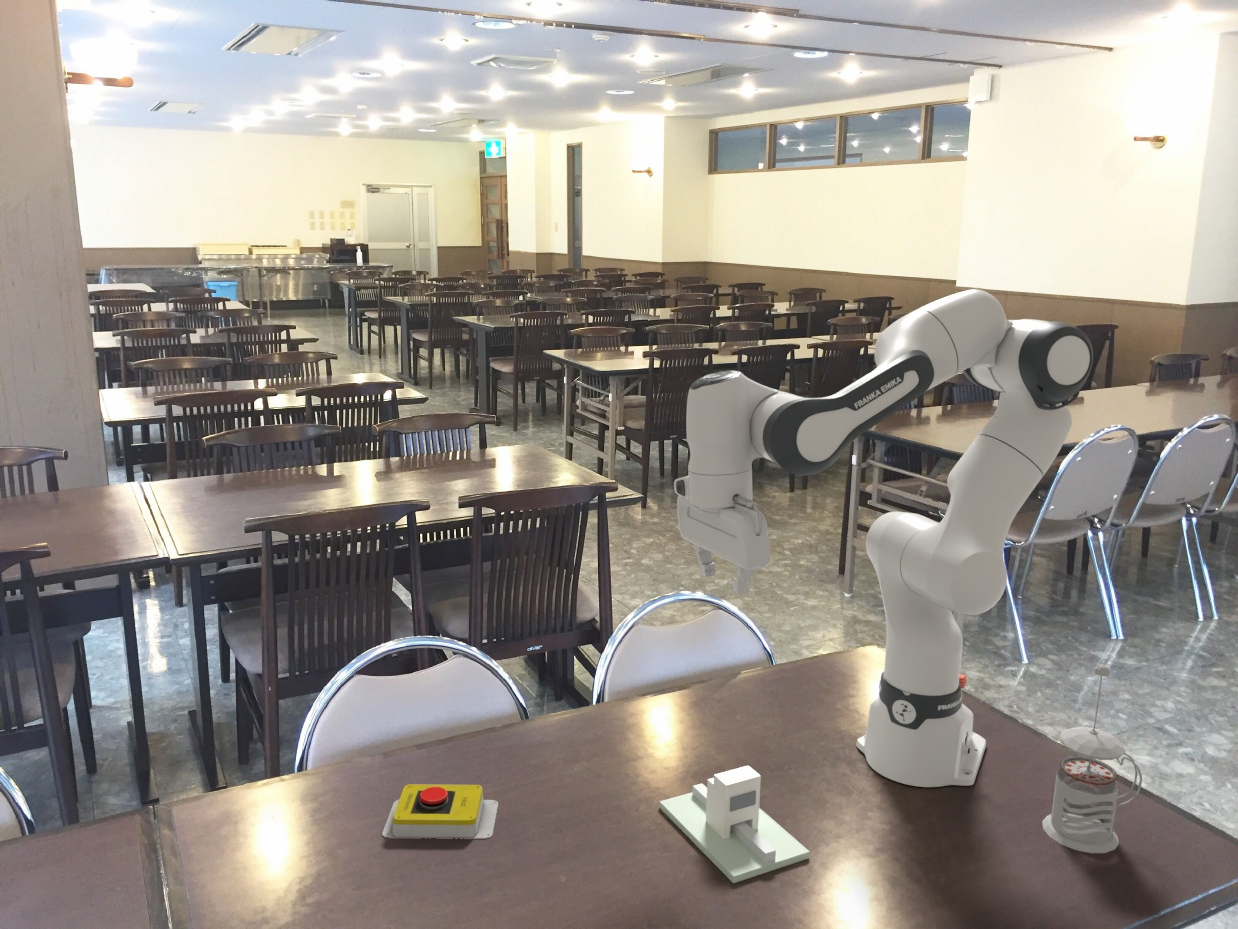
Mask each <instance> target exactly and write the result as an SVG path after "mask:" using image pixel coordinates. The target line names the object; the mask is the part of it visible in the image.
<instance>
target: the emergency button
mask: <svg viewBox="0 0 1238 929" xmlns="http://www.w3.org/2000/svg"><path fill="white" fill-rule="evenodd" d="M483 790H484V789H483V786H482V785H480V784H437V783H436V784H435V783H434V784H431V783H429V784H428V783H426V784H425V783H423V784H421V783H420V784H419V783H412V784H411V783H410V784H406V785H405V786H404V787H403V789H402V791H401V795H400V797H399V799H397V800H395V801H394V802H393V804H392V806H391V809H390V811H389V814H388V817H387V818H386V819H387V820H386V822H385V824H384V828H383V831H382V832H381V834H382V837H383V836H384V837H383V838H385V837H386V839H421V838H425V840H426V839H427V838H430V840H431V838H436V839H437V840H438V839H442V840H443V839H446V840H447V839H448V840H452V839H453V838H455V839H453V840H458V838H460V839H459V840H487V839H489V838H492V837H493V835H494V829H495V825H496V824H495V823H496V820H497V815H498V814H497V813H498V810H497V809H499V802H498V801H497V800H495V799H484V792H483ZM496 814H497V815H496ZM495 819H496V820H495ZM387 837H388V838H387ZM463 838H464V839H463Z"/></svg>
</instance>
